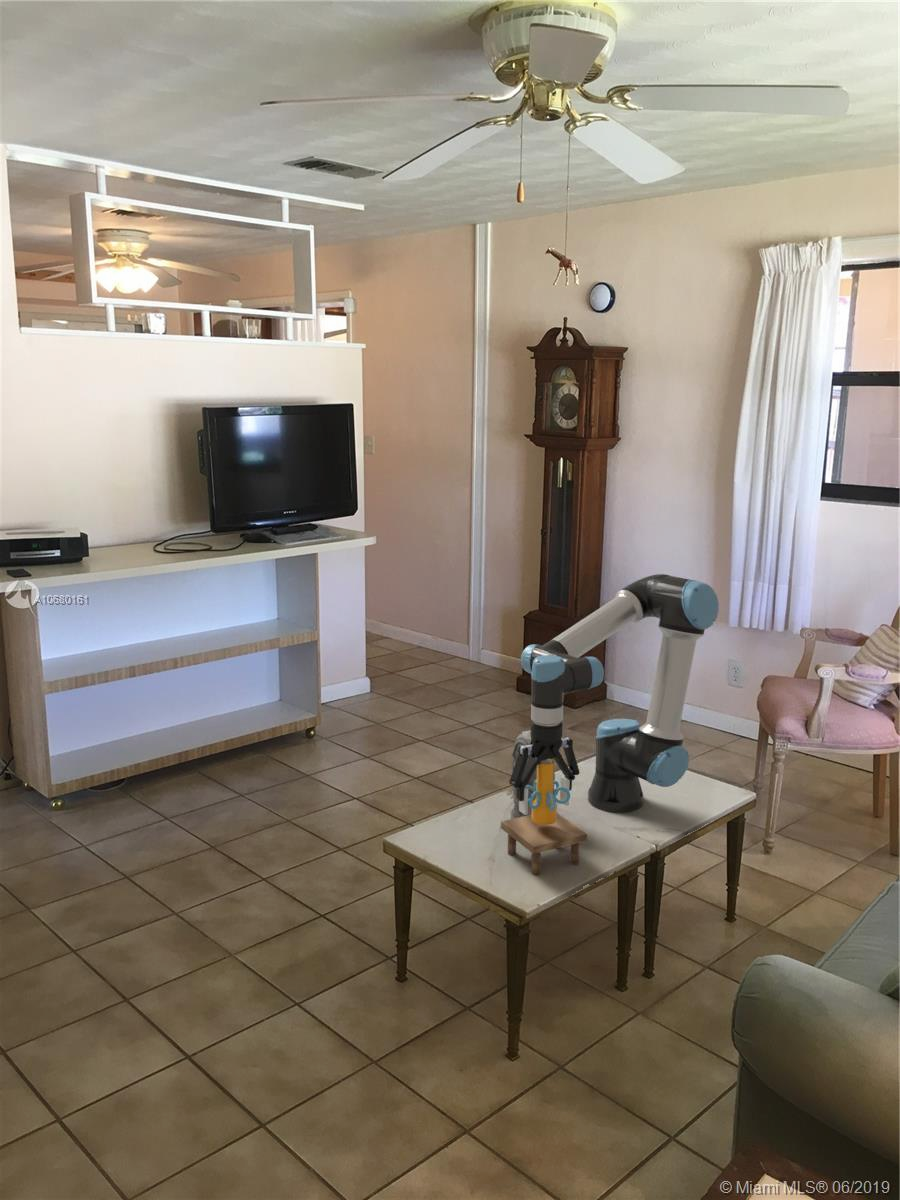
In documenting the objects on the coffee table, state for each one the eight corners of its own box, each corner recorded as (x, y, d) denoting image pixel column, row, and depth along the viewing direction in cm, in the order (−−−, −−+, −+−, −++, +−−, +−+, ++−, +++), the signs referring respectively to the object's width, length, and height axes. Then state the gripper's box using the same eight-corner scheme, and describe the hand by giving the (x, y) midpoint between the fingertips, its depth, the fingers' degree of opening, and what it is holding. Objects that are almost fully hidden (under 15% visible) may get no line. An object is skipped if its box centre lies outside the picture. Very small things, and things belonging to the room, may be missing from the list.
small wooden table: (551, 839, 244) (552, 809, 242) (586, 864, 231) (587, 833, 229) (500, 851, 237) (501, 821, 235) (533, 878, 224) (533, 847, 222)
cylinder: (539, 805, 239) (541, 749, 236) (575, 817, 233) (577, 759, 230) (511, 822, 230) (512, 763, 227) (547, 834, 224) (549, 774, 220)
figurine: (527, 805, 264) (529, 718, 258) (562, 823, 252) (565, 733, 247) (499, 813, 258) (501, 725, 253) (534, 833, 247) (536, 741, 241)
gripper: (578, 709, 235) (575, 793, 239) (495, 723, 224) (493, 811, 229) (596, 718, 228) (593, 804, 233) (512, 733, 218) (510, 823, 222)
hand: (544, 807), depth 231 cm, fingers closed on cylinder, 11 cm apart
